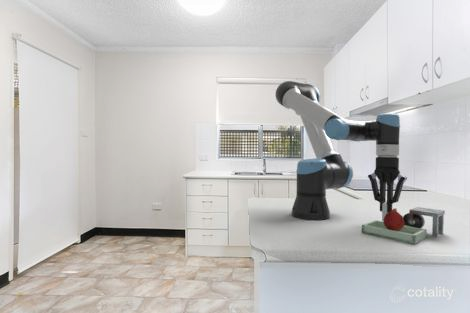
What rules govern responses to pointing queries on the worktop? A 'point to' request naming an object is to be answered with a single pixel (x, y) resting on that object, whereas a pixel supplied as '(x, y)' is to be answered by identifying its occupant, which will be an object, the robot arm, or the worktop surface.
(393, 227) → the onion
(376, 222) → the tray
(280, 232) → the worktop surface
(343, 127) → the robot arm
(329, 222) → the worktop surface
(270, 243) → the worktop surface
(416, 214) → the caster wheel
